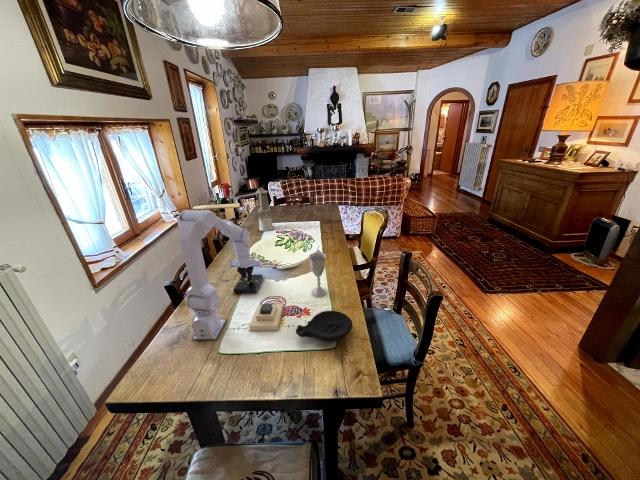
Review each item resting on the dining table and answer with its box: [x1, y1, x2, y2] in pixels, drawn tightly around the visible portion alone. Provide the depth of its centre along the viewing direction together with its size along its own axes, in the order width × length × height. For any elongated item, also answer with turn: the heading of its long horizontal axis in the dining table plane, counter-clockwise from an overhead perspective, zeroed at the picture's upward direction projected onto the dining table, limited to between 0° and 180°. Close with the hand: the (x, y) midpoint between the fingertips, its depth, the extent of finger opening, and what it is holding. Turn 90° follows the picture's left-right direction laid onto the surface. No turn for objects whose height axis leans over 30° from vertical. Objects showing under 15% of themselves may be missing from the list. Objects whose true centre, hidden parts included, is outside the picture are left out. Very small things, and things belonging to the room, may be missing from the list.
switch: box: [260, 303, 272, 314], centre depth 95 cm, size 4×4×2 cm
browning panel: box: [233, 273, 264, 295], centre depth 117 cm, size 12×10×3 cm
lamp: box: [255, 187, 274, 232], centre depth 178 cm, size 10×13×30 cm
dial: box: [244, 274, 250, 284], centre depth 116 cm, size 5×1×4 cm, turn 177°
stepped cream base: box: [249, 303, 284, 331], centre depth 96 cm, size 12×10×4 cm
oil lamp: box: [295, 310, 353, 343], centre depth 87 cm, size 15×20×5 cm
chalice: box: [308, 251, 327, 297], centre depth 106 cm, size 7×7×18 cm
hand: (248, 280), depth 116 cm, fingers closed on dial
